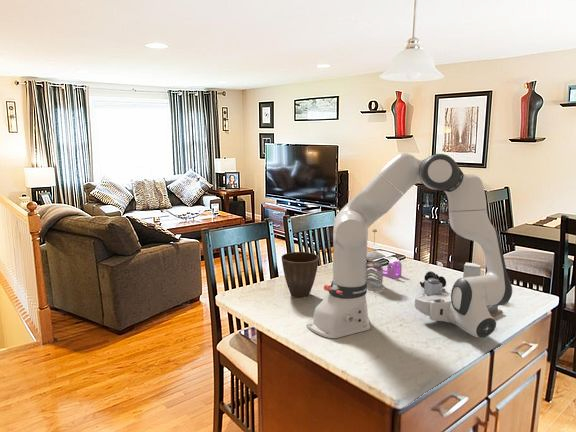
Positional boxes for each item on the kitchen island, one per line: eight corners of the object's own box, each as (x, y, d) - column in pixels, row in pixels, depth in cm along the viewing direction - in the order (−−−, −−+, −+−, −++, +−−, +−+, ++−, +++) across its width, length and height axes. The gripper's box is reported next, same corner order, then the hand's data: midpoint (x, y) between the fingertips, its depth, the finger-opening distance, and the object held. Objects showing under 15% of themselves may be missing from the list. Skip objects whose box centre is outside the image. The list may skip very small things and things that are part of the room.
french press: (385, 290, 182) (387, 231, 177) (357, 289, 184) (358, 231, 179) (384, 283, 192) (386, 226, 187) (357, 281, 193) (358, 226, 189)
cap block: (440, 312, 160) (442, 281, 157) (429, 314, 158) (431, 282, 156) (433, 308, 164) (435, 277, 162) (423, 309, 163) (424, 278, 160)
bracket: (401, 276, 201) (401, 261, 199) (393, 279, 197) (394, 264, 196) (378, 269, 210) (378, 255, 209) (370, 272, 207) (371, 258, 206)
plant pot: (326, 295, 177) (326, 257, 174) (297, 304, 168) (297, 264, 165) (302, 286, 188) (302, 249, 186) (274, 294, 179) (273, 256, 176)
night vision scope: (428, 289, 190) (447, 276, 187) (431, 305, 173) (453, 291, 170) (416, 275, 190) (436, 262, 187) (419, 290, 173) (440, 275, 170)
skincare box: (461, 293, 178) (463, 264, 176) (463, 290, 182) (465, 262, 180) (477, 296, 175) (480, 267, 173) (479, 292, 179) (481, 264, 177)
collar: (485, 320, 152) (485, 312, 152) (456, 310, 161) (456, 302, 160) (502, 311, 160) (502, 303, 159) (473, 303, 168) (474, 295, 168)
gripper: (481, 296, 150) (456, 283, 163) (428, 303, 145) (407, 288, 158) (480, 314, 151) (455, 299, 164) (427, 321, 146) (406, 305, 159)
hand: (431, 294), depth 161 cm, fingers closed on cap block, 4 cm apart
